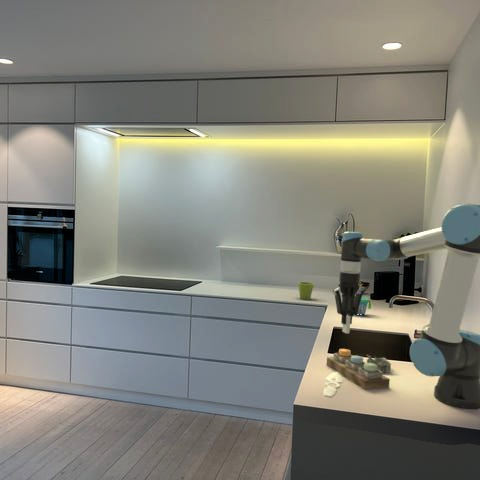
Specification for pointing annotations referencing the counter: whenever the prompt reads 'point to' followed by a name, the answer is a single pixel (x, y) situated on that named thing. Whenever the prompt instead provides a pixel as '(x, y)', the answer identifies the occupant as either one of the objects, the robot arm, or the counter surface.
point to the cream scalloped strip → (330, 390)
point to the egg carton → (380, 363)
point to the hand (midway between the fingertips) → (345, 332)
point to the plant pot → (305, 290)
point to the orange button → (344, 353)
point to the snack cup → (363, 305)
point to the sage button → (370, 367)
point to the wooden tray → (357, 373)
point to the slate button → (356, 360)
